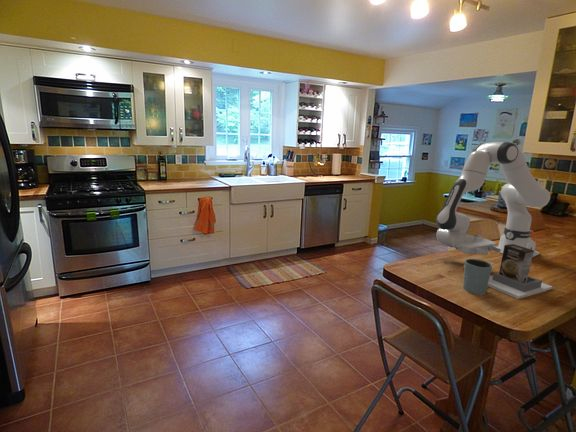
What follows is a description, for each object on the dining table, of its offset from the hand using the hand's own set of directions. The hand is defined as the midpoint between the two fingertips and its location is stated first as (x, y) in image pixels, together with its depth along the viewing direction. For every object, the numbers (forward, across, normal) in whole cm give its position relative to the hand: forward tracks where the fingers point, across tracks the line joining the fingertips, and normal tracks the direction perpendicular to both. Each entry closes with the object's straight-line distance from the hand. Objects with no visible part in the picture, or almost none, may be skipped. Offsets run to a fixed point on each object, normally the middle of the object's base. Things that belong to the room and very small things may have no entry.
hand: (493, 252), depth 157 cm
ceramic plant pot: (+7, -21, +12) cm, 25 cm away
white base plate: (+11, 0, +12) cm, 16 cm away
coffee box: (+11, -1, +10) cm, 15 cm away
